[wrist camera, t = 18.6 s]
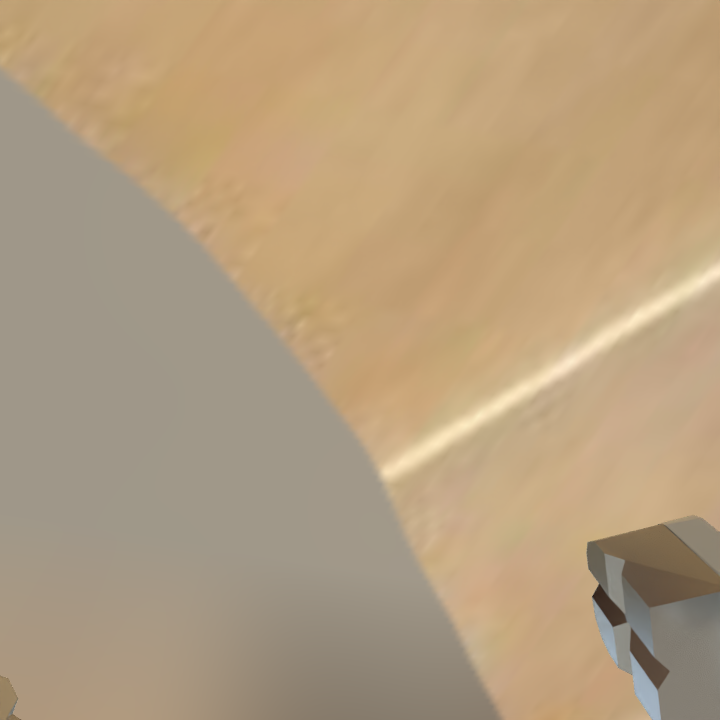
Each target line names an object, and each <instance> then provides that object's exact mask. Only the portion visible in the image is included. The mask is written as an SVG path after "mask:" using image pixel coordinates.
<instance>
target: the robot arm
mask: <svg viewBox="0 0 720 720" xmlns="http://www.w3.org/2000/svg"><path fill="white" fill-rule="evenodd" d="M587 561H588V569H589V570H590V572H591V573H592V574H593V576H594V577H595V579H596V580H597V581H598V583H599V585H598V587H597V589H596V590H595V592H594V594H593V596H592V599H593V606H594V612H595V618H596V621H597V624H598V627H599V631H600V634H601V637H602V640H603V642H604V644H605V646H606V648H607V650H608V652H609V654H610V656H611V657H612V659H613V660H614V662H615V664H616V665H617V667H618V668H619V669H621V670H623V671H625V672H627V673H629V674H631V675H633V682H634V690H635V695H636V696H637V698H638V699H639V701H640V702H641V704H642V705H643V707H644V708H645V710H646V711H647V713H648V714H649V716H650V717H651V719H652V720H720V532H719V531H717V530H716V529H715V528H714V527H712V526H711V525H710V524H709V523H708V522H706V521H705V520H704V519H703V518H701V517H698V516H694V515H691V516H687V517H683V518H680V519H676V520H672V521H668V522H664V523H661V524H658V525H656V526H652V527H648V528H643V529H639V530H635V531H631V532H627V533H623V534H619V535H615V536H611V537H607V538H603V539H598V540H594V541H590V542H588V543H587ZM17 700H18V697H17V695H16V693H15V691H14V689H13V687H12V685H11V683H10V681H9V679H8V678H5V677H2V676H0V720H21V719H19V718H18V717H16V716H15V715H13V711H14V708H15V705H16V703H17Z"/></svg>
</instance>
